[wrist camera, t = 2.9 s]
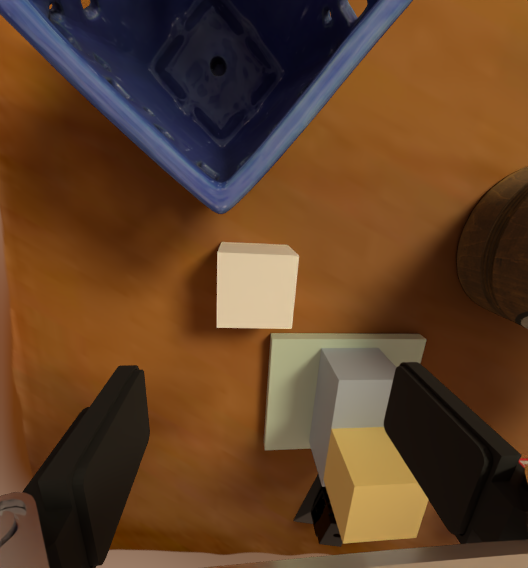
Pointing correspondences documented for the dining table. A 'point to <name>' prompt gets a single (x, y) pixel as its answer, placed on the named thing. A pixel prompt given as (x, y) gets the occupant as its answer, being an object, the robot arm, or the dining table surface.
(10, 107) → the dining table surface
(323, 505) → the black piece
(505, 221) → the wooden container
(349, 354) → the slate-blue long brick
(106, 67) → the flower pot
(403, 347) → the green plate
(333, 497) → the mustard brick
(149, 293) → the dining table surface
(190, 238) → the dining table surface
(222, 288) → the cream brick
